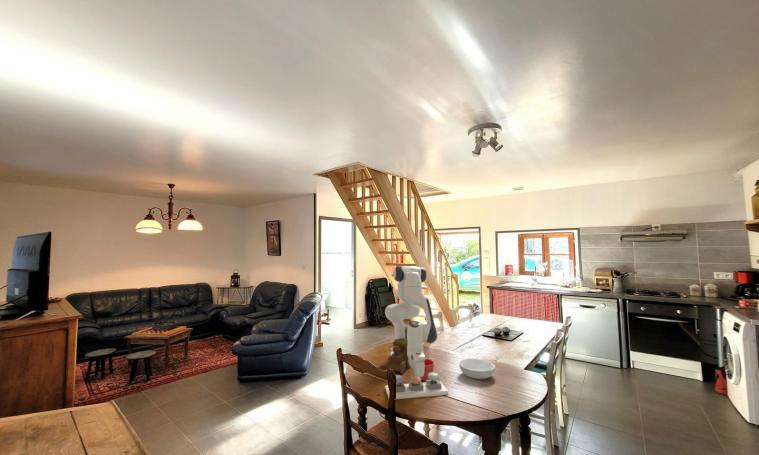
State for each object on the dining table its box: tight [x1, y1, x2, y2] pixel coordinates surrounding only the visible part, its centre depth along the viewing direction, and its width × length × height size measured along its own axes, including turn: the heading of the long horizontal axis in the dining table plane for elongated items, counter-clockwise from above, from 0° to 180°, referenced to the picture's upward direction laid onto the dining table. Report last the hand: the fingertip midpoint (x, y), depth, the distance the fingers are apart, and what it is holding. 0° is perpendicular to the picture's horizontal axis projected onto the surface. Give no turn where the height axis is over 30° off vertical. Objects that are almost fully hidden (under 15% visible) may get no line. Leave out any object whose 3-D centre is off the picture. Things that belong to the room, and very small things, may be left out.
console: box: [384, 379, 449, 400], centre depth 166 cm, size 12×32×4 cm, turn 98°
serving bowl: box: [458, 358, 496, 380], centre depth 186 cm, size 21×21×7 cm
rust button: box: [410, 376, 422, 385], centre depth 166 cm, size 6×6×4 cm
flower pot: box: [420, 358, 435, 382], centre depth 183 cm, size 11×11×10 cm
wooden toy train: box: [386, 339, 411, 375], centre depth 199 cm, size 20×11×17 cm, turn 152°
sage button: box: [428, 371, 439, 383], centre depth 168 cm, size 6×6×4 cm
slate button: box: [395, 374, 404, 386], centre depth 165 cm, size 6×6×4 cm
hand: (416, 378), depth 166 cm, fingers closed, pressing on rust button
